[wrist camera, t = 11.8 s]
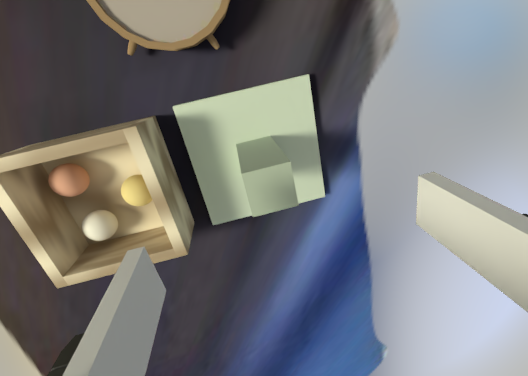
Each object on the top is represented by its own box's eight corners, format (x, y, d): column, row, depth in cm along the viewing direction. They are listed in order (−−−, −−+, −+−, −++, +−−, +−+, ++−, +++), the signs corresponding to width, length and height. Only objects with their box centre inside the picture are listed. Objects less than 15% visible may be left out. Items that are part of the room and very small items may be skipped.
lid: (174, 105, 25) (146, 121, 16) (305, 74, 26) (350, 72, 17) (213, 220, 31) (208, 282, 21) (321, 192, 31) (363, 241, 22)
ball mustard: (122, 174, 26) (109, 185, 23) (152, 167, 26) (144, 177, 23) (134, 201, 27) (124, 215, 24) (163, 194, 27) (156, 207, 24)
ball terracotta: (54, 163, 25) (32, 174, 22) (86, 155, 25) (69, 165, 22) (70, 192, 26) (51, 205, 23) (100, 184, 26) (86, 197, 23)
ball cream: (85, 208, 27) (69, 223, 24) (114, 201, 27) (102, 215, 24) (98, 233, 28) (85, 250, 25) (127, 226, 28) (116, 242, 25)
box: (27, 145, 25) (-29, 164, 19) (155, 115, 25) (135, 126, 20) (88, 249, 30) (57, 288, 24) (194, 222, 30) (187, 254, 25)
